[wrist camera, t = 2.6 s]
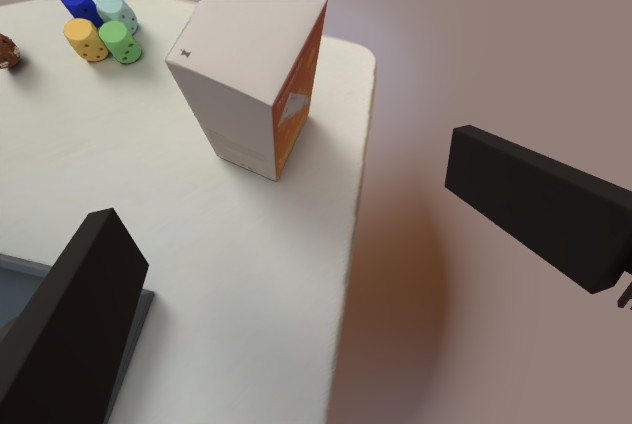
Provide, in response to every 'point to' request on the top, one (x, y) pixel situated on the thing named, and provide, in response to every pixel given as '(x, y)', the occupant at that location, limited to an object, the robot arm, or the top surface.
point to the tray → (22, 282)
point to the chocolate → (8, 52)
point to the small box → (250, 75)
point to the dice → (102, 30)
